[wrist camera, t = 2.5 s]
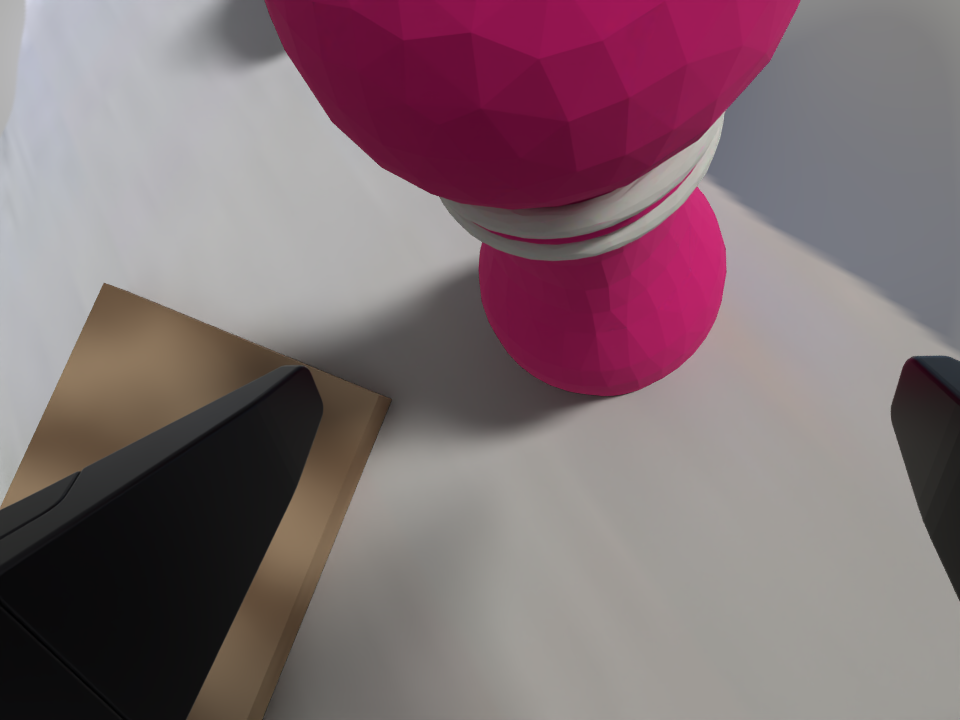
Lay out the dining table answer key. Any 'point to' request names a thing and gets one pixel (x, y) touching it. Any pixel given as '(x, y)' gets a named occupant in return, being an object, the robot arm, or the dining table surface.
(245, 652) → the walnut board
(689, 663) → the dining table surface
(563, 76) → the pepper mill
